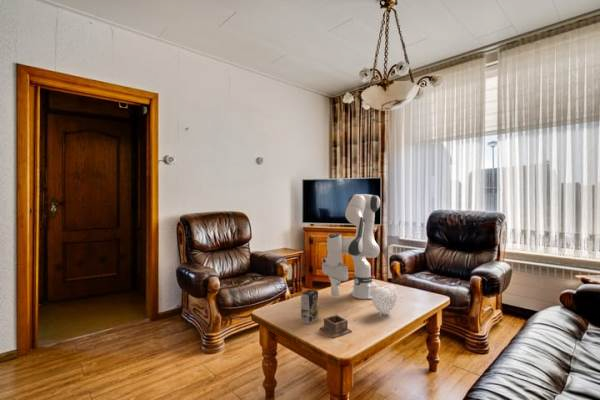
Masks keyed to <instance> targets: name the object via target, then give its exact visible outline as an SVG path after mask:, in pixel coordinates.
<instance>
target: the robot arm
mask: <svg viewBox="0 0 600 400" xmlns="http://www.w3.org/2000/svg"><path fill="white" fill-rule="evenodd" d="M347 201H348V205H347V207H346V210H345V214H344V215H345V218H346V220H347V221H348V223H350V224H353V225H354V226H356V231H355V236H354V237H353V238H350V237H343V236H342V234H341V233H337V232H335V233H333V232H332V233H330V234H329V235H328V236H327V240H326V250H327V251H326V252H327V255H326V257H325V258H322V259H321V262H322V264H321V271H322V273H323V274H324V275H326V276H328V280H329V283H330V284H331V277H334V278H337V280H338V282H337V283H336V285H337V286H339V287H340V286H341V282H342V281H343V282H345V281H348V280H349V271H348V270H349V269H348V266H347V265H346V264H345V263H343V255H350V256H351V258H352V261H353V264H354V265H353V266H354V275H353V280H354V282H353V287H352V288H353V289H352V294H351V296H353V297H354V298H357V299H362V300H371V301H372V292H373V290H374V289H375V288H377V287H380V286H379V285H378V284H377V283H376V282H374V280H375V278H376V276H375V275H371V274H372V273H371V272H372V269H371V268H372V267H371V263H370V262H369V261H368V260H367V258H368V259H373V258H374V259H375V258H377V257H378V256H379V255H380V252H381V249H380V246H379V244H378V242H376V240H375V236H374V229H375V220H376V219H375V217H376V215H375V214H376V212H377V211H379V209H380V206H381V198H380V197H379V196H378V195H375V194H367V193H362V194H360V193H359V194H358V193H354V194H351V195H350V196H349V197H348V200H347ZM376 292H377V291H376ZM378 292H379V291H378ZM376 295H378V293H377V294H376ZM381 295H384V294H381ZM374 299H375V298H374Z"/></svg>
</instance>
